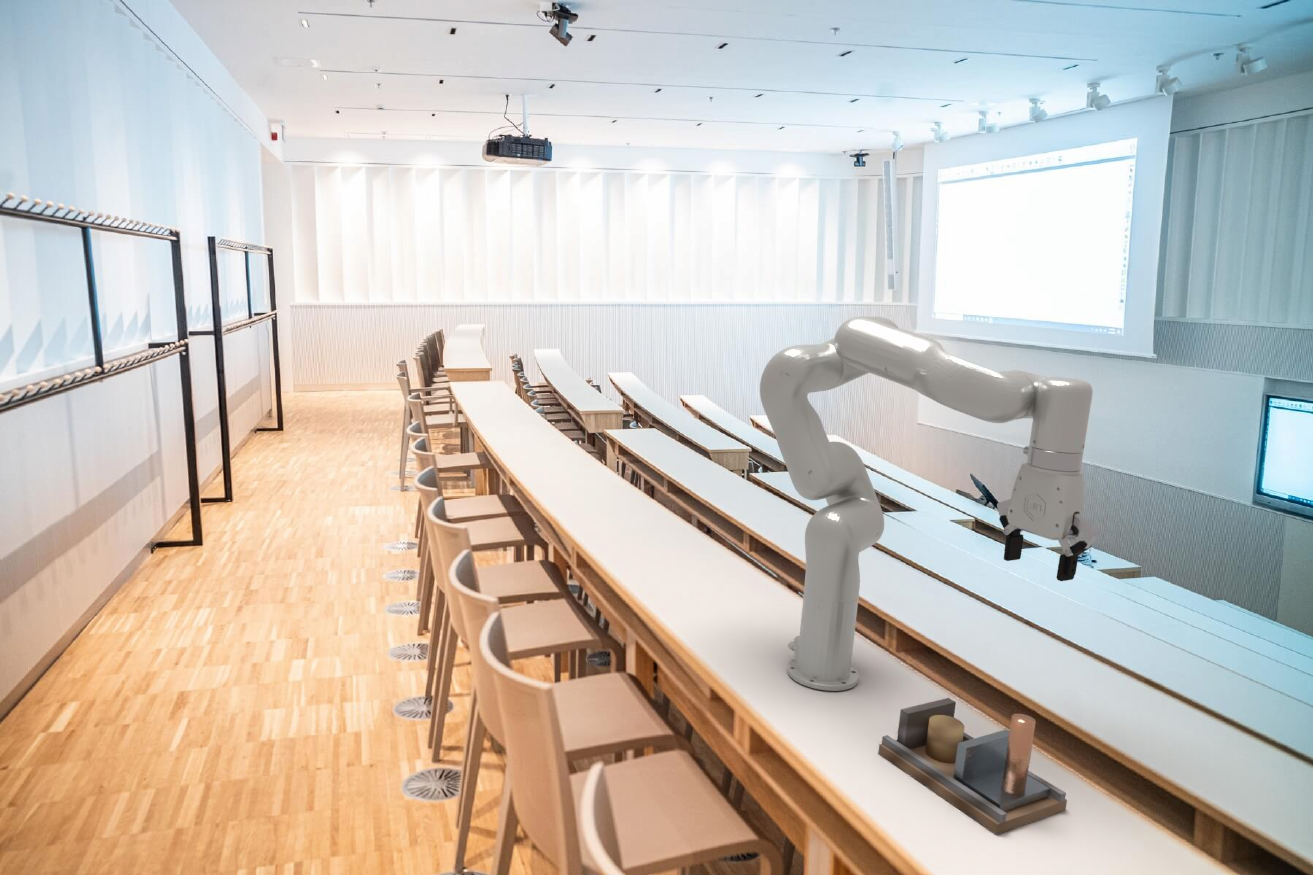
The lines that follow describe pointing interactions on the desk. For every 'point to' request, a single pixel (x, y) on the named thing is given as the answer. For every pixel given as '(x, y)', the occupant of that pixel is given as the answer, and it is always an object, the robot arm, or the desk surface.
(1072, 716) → the desk surface
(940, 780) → the press base
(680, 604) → the desk surface
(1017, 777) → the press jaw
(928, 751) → the tan round peg
